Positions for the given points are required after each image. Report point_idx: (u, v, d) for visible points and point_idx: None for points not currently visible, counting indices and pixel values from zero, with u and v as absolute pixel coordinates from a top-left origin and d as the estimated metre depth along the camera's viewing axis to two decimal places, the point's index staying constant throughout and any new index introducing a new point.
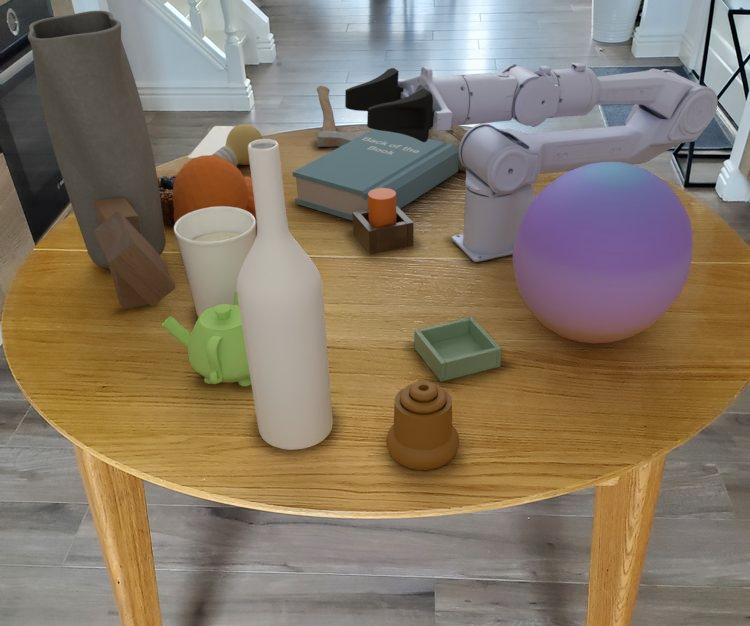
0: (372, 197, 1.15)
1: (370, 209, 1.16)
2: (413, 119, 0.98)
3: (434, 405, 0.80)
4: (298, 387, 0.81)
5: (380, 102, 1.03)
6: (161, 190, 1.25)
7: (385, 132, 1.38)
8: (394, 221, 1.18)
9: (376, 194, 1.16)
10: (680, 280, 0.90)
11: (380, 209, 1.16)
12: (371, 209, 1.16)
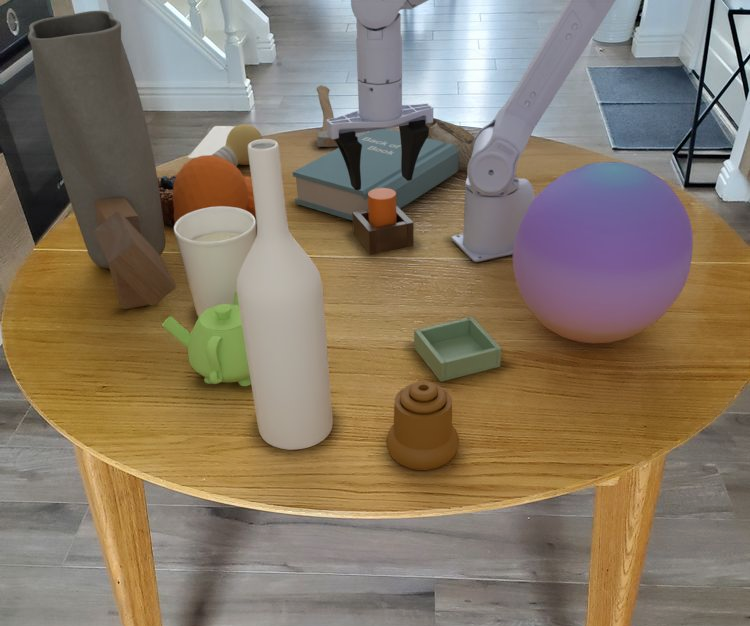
0: (372, 197, 1.15)
1: (370, 209, 1.16)
2: None
3: (434, 405, 0.80)
4: (298, 387, 0.81)
5: (408, 146, 1.12)
6: (161, 190, 1.25)
7: (385, 132, 1.38)
8: (394, 221, 1.18)
9: (376, 194, 1.16)
10: (680, 280, 0.90)
11: (380, 209, 1.16)
12: (371, 209, 1.16)
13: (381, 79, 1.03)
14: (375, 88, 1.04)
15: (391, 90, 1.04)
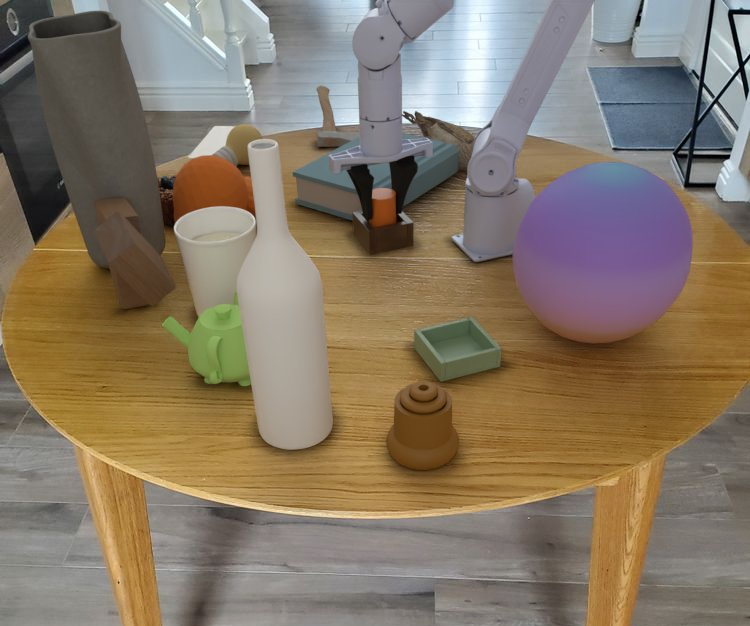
0: (372, 198, 1.15)
1: None
2: None
3: (434, 405, 0.80)
4: (298, 387, 0.81)
5: (397, 181, 1.15)
6: (161, 190, 1.25)
7: None
8: (394, 221, 1.18)
9: (376, 194, 1.16)
10: (680, 280, 0.90)
11: (380, 209, 1.16)
12: None
13: (382, 117, 1.06)
14: (376, 125, 1.07)
15: (391, 127, 1.07)
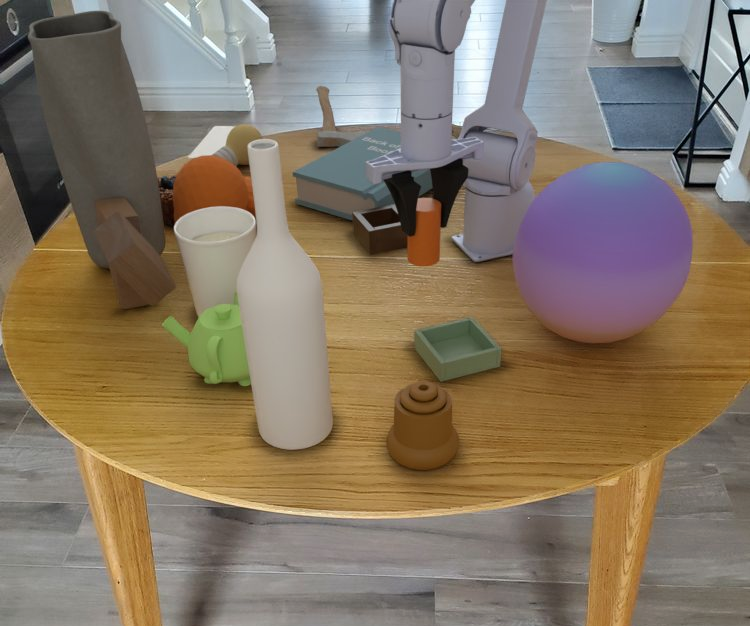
0: None
1: None
2: None
3: (434, 405, 0.80)
4: (298, 387, 0.81)
5: (443, 190, 0.97)
6: (161, 190, 1.25)
7: (385, 132, 1.38)
8: (439, 236, 1.00)
9: (418, 205, 0.98)
10: (680, 280, 0.90)
11: (425, 223, 0.97)
12: None
13: (451, 107, 0.90)
14: (425, 124, 0.89)
15: (443, 125, 0.90)
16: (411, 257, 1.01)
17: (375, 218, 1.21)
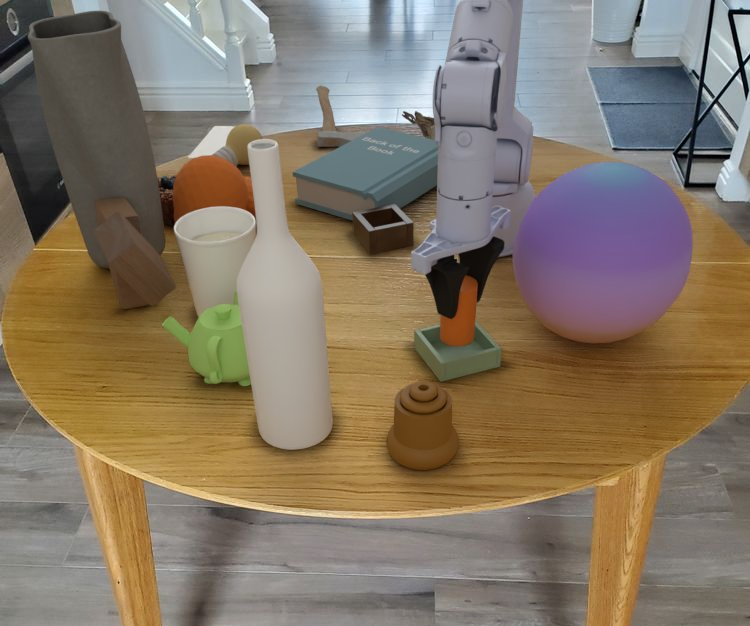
0: None
1: None
2: None
3: (434, 405, 0.80)
4: (298, 387, 0.81)
5: (477, 265, 0.91)
6: (161, 190, 1.25)
7: (385, 132, 1.38)
8: (475, 312, 0.94)
9: None
10: (680, 280, 0.90)
11: (466, 303, 0.91)
12: None
13: (492, 182, 0.84)
14: (473, 204, 0.83)
15: (488, 203, 0.84)
16: (449, 338, 0.95)
17: (375, 218, 1.21)
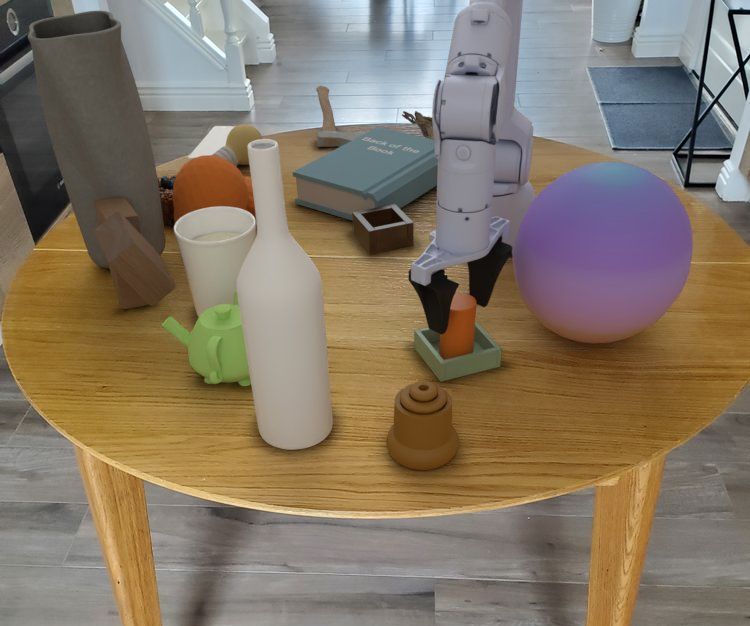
0: (455, 309, 0.92)
1: (449, 323, 0.93)
2: None
3: (434, 405, 0.80)
4: (298, 387, 0.81)
5: (485, 270, 0.93)
6: (161, 190, 1.25)
7: (385, 132, 1.38)
8: (474, 330, 0.95)
9: (454, 303, 0.93)
10: (680, 280, 0.90)
11: (465, 321, 0.93)
12: (451, 323, 0.93)
13: None
14: (473, 216, 0.83)
15: (488, 215, 0.85)
16: (448, 355, 0.96)
17: (375, 218, 1.21)
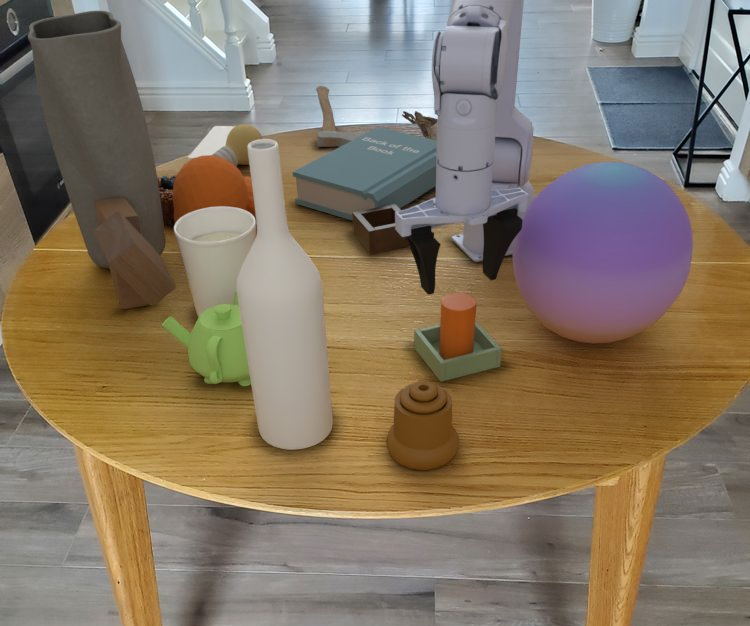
0: (455, 309, 0.92)
1: (449, 323, 0.93)
2: None
3: (434, 405, 0.80)
4: (298, 387, 0.81)
5: None
6: (161, 190, 1.25)
7: (385, 132, 1.38)
8: (474, 330, 0.95)
9: (454, 303, 0.93)
10: (680, 280, 0.90)
11: (465, 321, 0.93)
12: (451, 323, 0.93)
13: None
14: None
15: None
16: (448, 355, 0.96)
17: (375, 218, 1.21)
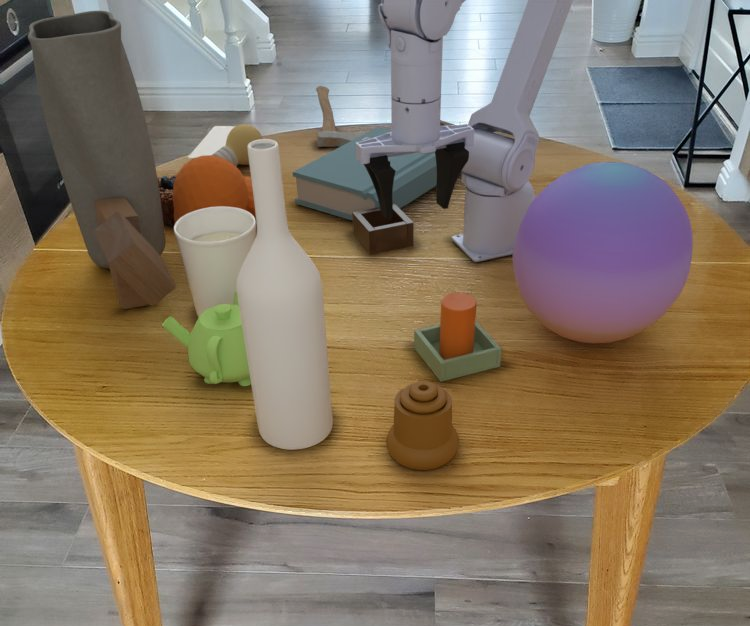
0: (455, 309, 0.92)
1: (449, 323, 0.93)
2: None
3: (434, 405, 0.80)
4: (298, 387, 0.81)
5: None
6: (161, 190, 1.25)
7: (385, 132, 1.38)
8: (474, 330, 0.95)
9: (454, 303, 0.93)
10: (680, 280, 0.90)
11: (465, 321, 0.93)
12: (451, 323, 0.93)
13: (438, 94, 0.93)
14: None
15: None
16: (448, 355, 0.96)
17: (375, 218, 1.21)
